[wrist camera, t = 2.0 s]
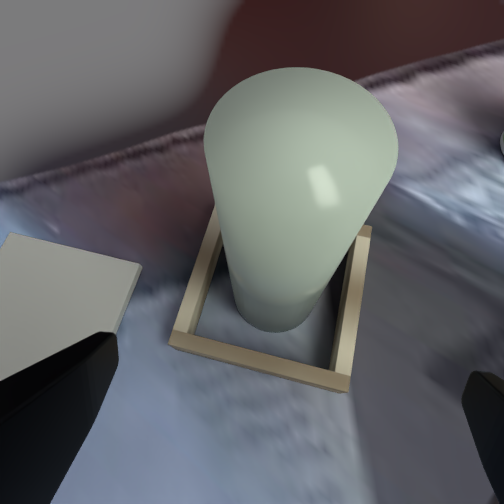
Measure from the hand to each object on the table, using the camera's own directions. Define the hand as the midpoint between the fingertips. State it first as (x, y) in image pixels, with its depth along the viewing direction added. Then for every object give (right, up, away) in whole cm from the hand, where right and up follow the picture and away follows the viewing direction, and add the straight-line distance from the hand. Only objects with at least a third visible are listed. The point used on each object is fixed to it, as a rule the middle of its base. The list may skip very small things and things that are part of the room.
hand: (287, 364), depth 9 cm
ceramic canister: (+1, 0, +13) cm, 13 cm away
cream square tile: (-13, -1, +13) cm, 18 cm away
